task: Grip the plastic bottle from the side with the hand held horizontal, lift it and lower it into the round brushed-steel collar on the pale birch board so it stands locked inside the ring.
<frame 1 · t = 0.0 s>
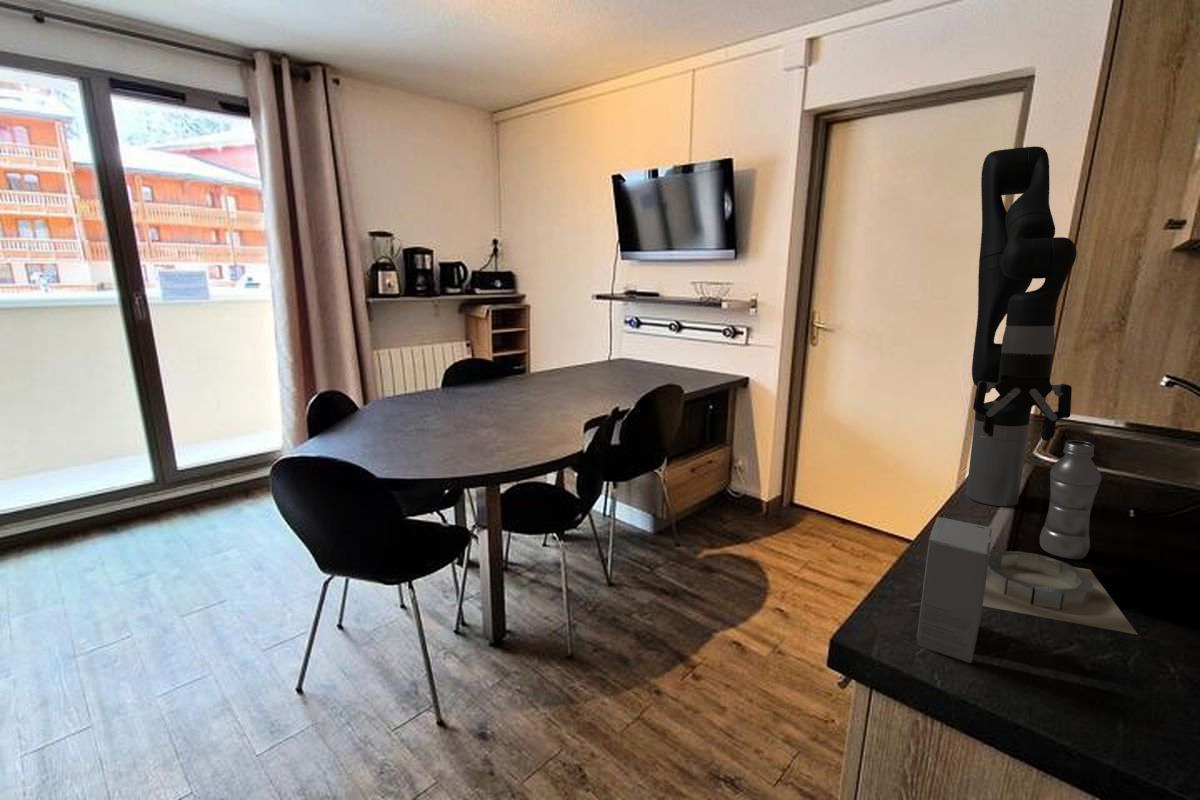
hand: (1016, 437, 104), 17 cm above the worktop, tool pointing down, fingers open, 8 cm apart
plastic bottle: (1061, 557, 94), on the worktop
birch board: (1033, 591, 84), on the worktop
steel collar: (1034, 586, 84), resting on birch board
skincare box: (948, 641, 74), on the worktop
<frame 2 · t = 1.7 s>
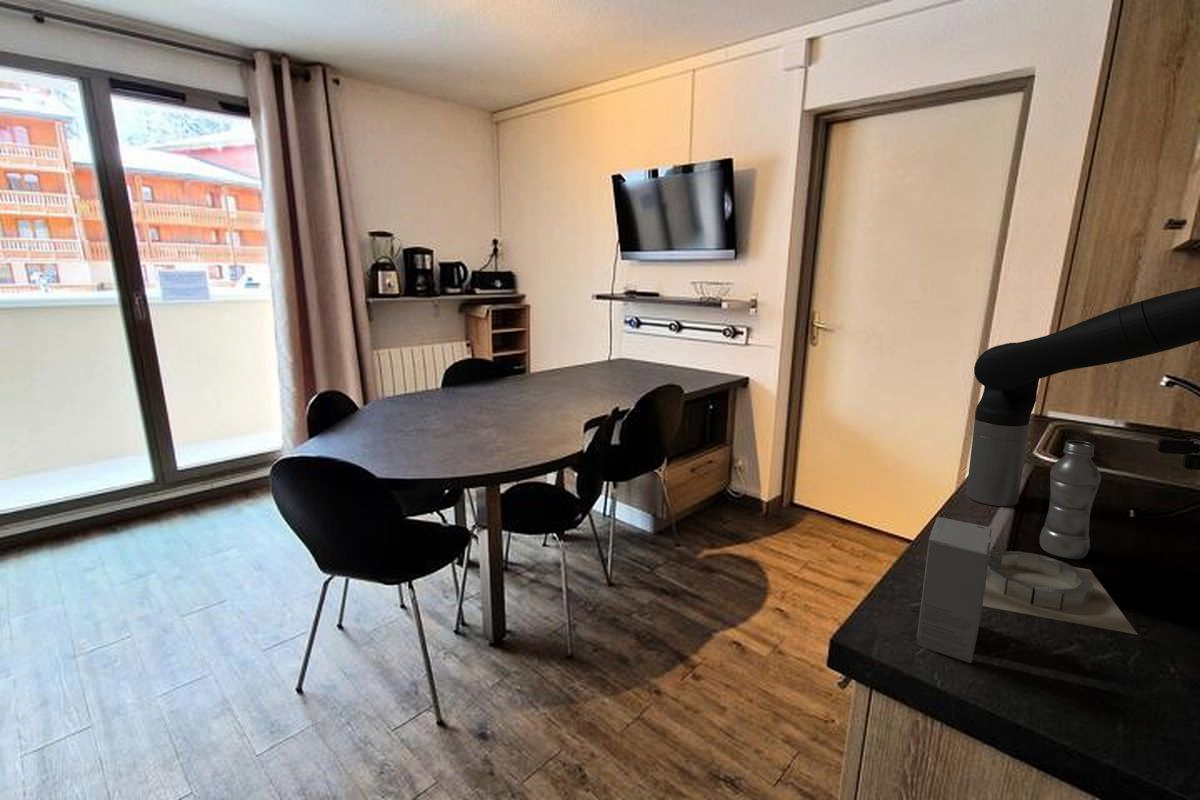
hand: (1170, 453, 86), 20 cm above the worktop, tool horizontal, fingers open, 8 cm apart
nothing on the worktop moved.
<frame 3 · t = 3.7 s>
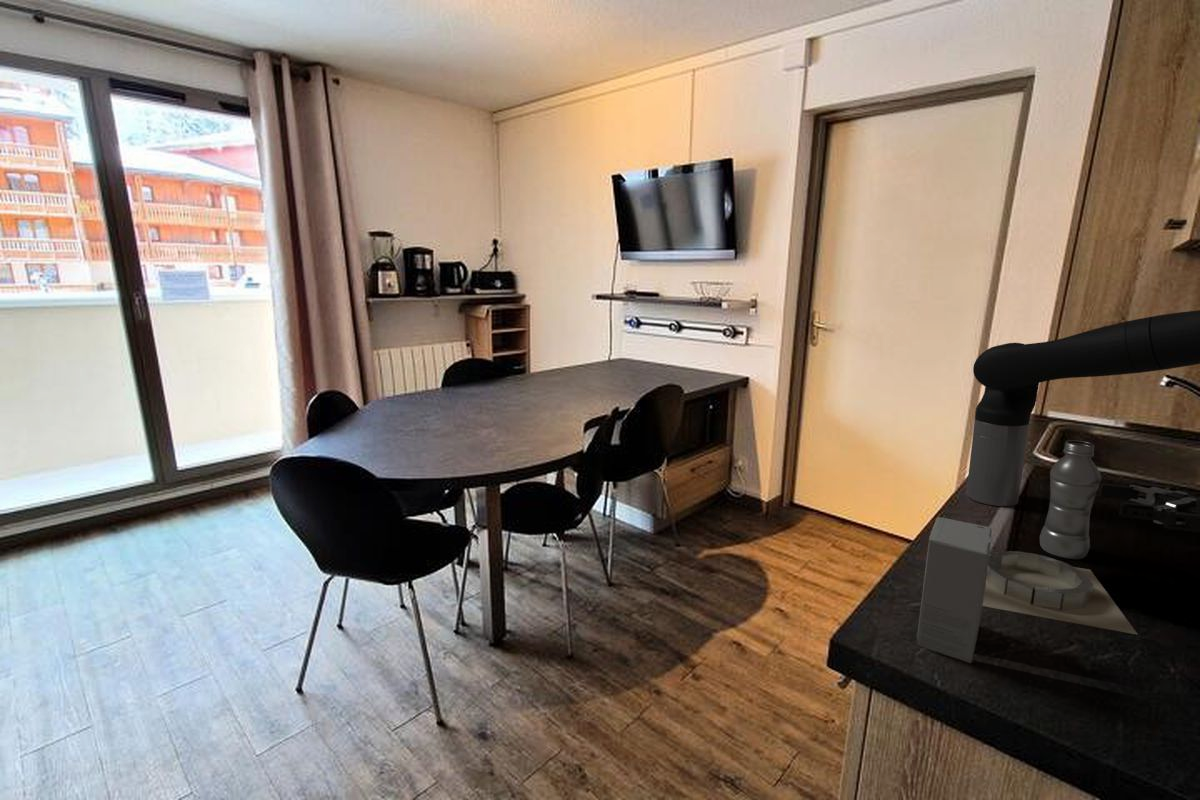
hand: (1110, 499, 90), 11 cm above the worktop, tool horizontal, fingers open, 8 cm apart
nothing on the worktop moved.
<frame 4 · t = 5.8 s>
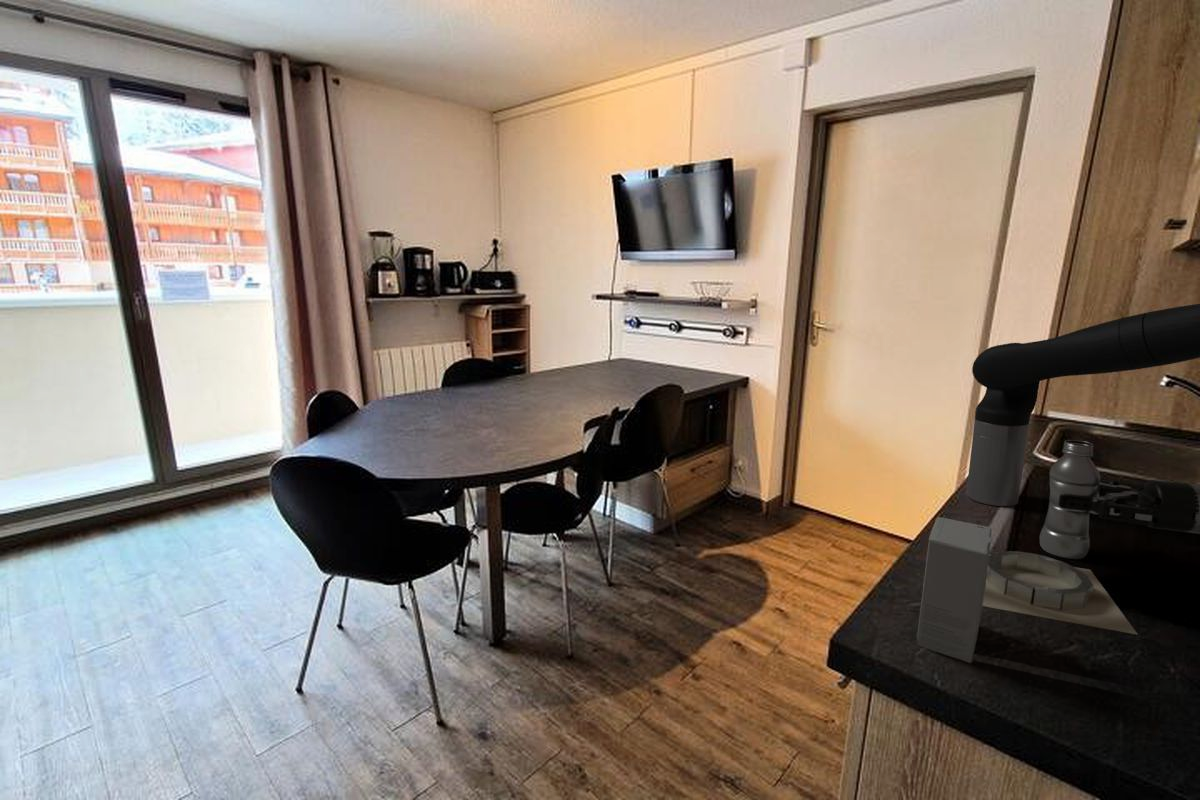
hand: (1053, 493, 93), 11 cm above the worktop, tool horizontal, fingers closed on plastic bottle, 6 cm apart
plastic bottle: (1061, 557, 94), on the worktop, touching gripper
everything else where it was.
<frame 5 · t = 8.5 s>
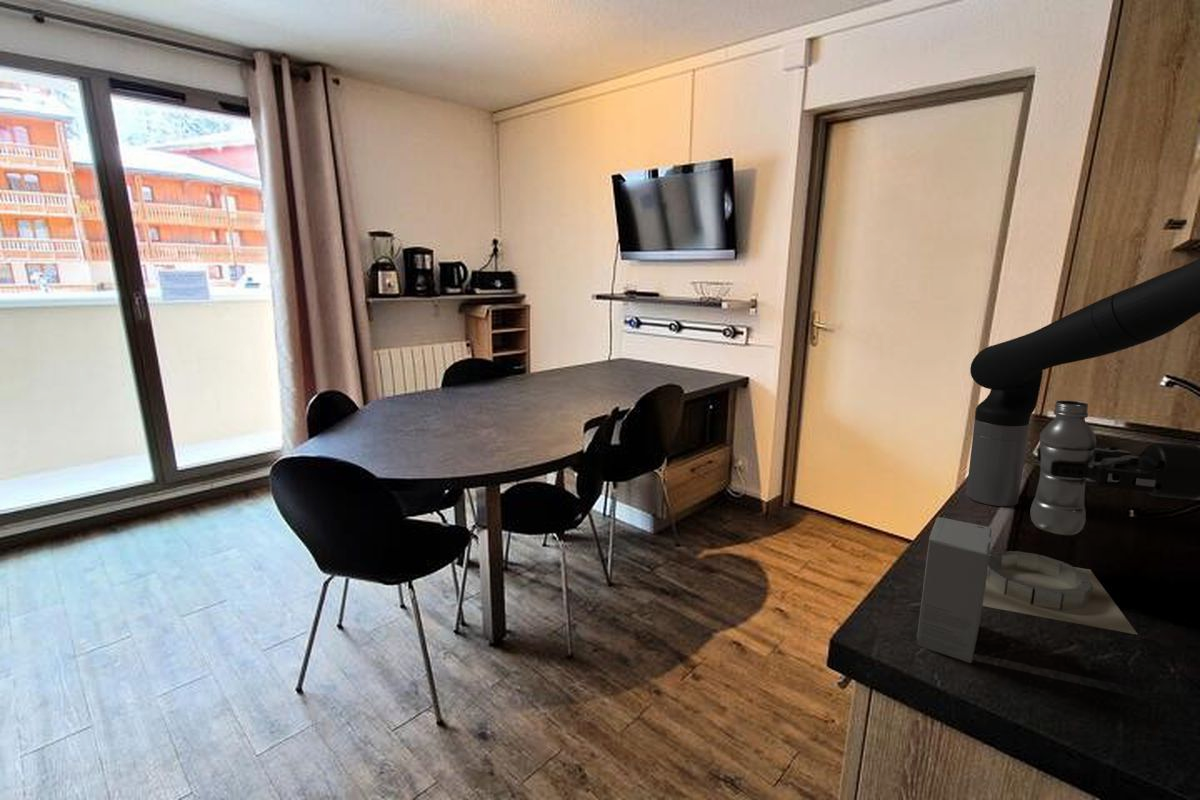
hand: (1045, 460, 83), 20 cm above the worktop, tool horizontal, fingers closed on plastic bottle, 6 cm apart
plastic bottle: (1055, 532, 85), point 9 cm above the worktop, touching gripper
everything else where it was.
when the fingers open (13 cm above the worktop, at t = 11.4 s): plastic bottle drops 1 cm, resting on birch board.
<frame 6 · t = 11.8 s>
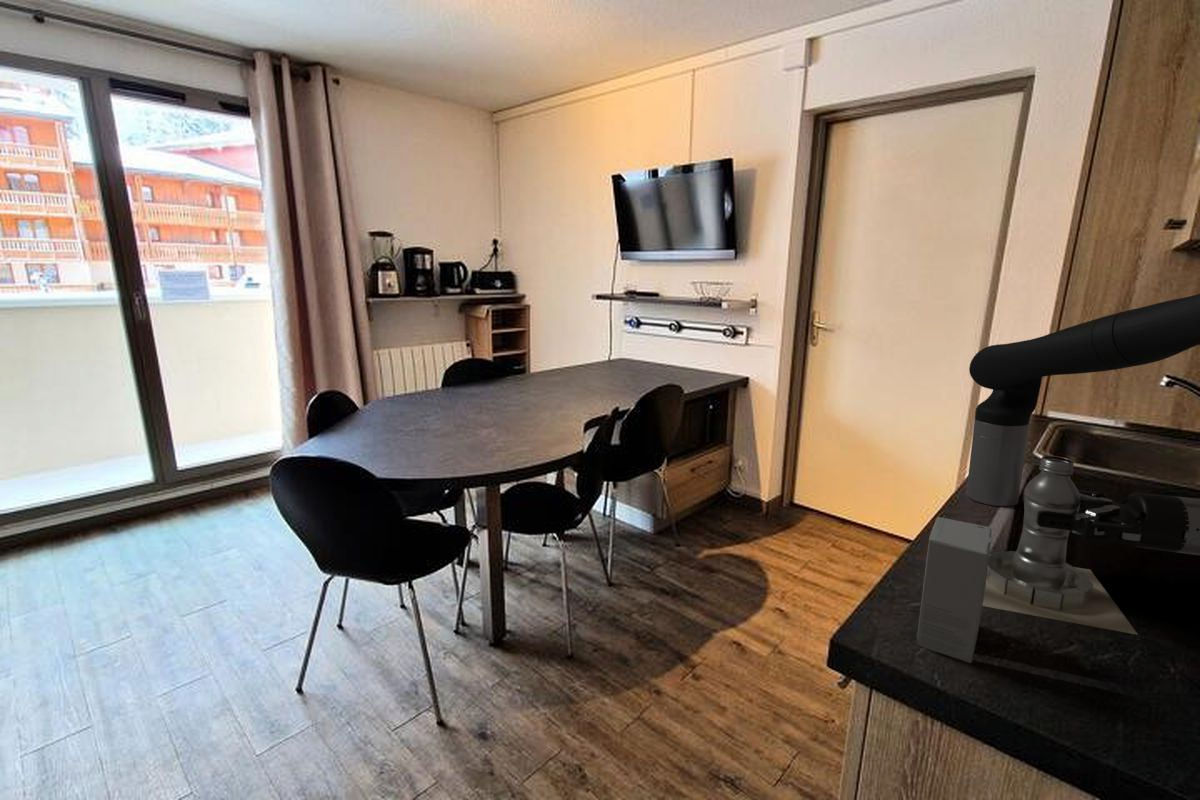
hand: (1030, 506, 82), 13 cm above the worktop, tool horizontal, fingers open, 8 cm apart
plastic bottle: (1035, 586, 84), point 1 cm above the worktop, touching birch board
everything else where it was.
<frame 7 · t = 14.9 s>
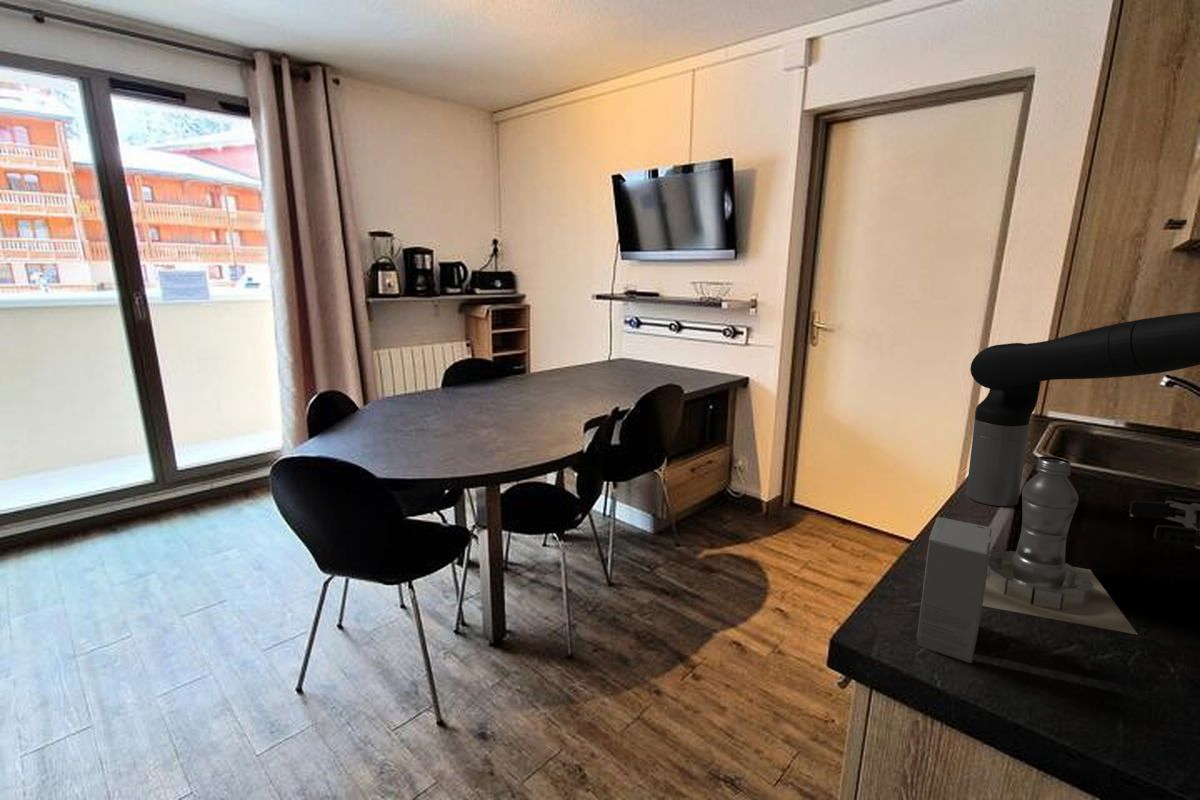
hand: (1142, 519, 77), 13 cm above the worktop, tool horizontal, fingers open, 8 cm apart
nothing on the worktop moved.
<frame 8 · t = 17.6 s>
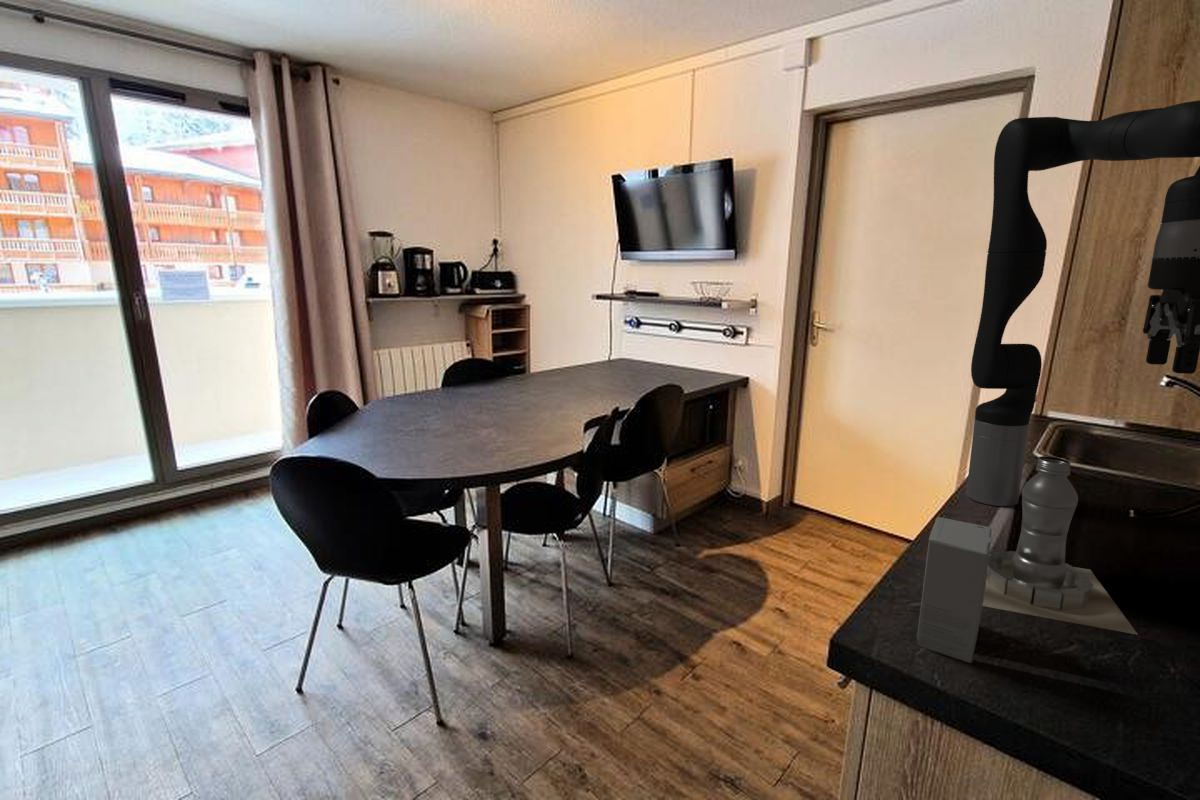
hand: (1168, 368, 81), 33 cm above the worktop, tool pointing down, fingers open, 8 cm apart
nothing on the worktop moved.
at the end: plastic bottle 0.2 cm off-centre on the birch board, point 0.8 cm above the birch board's base; plastic bottle tilted 0°; the gripper is holding nothing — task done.
